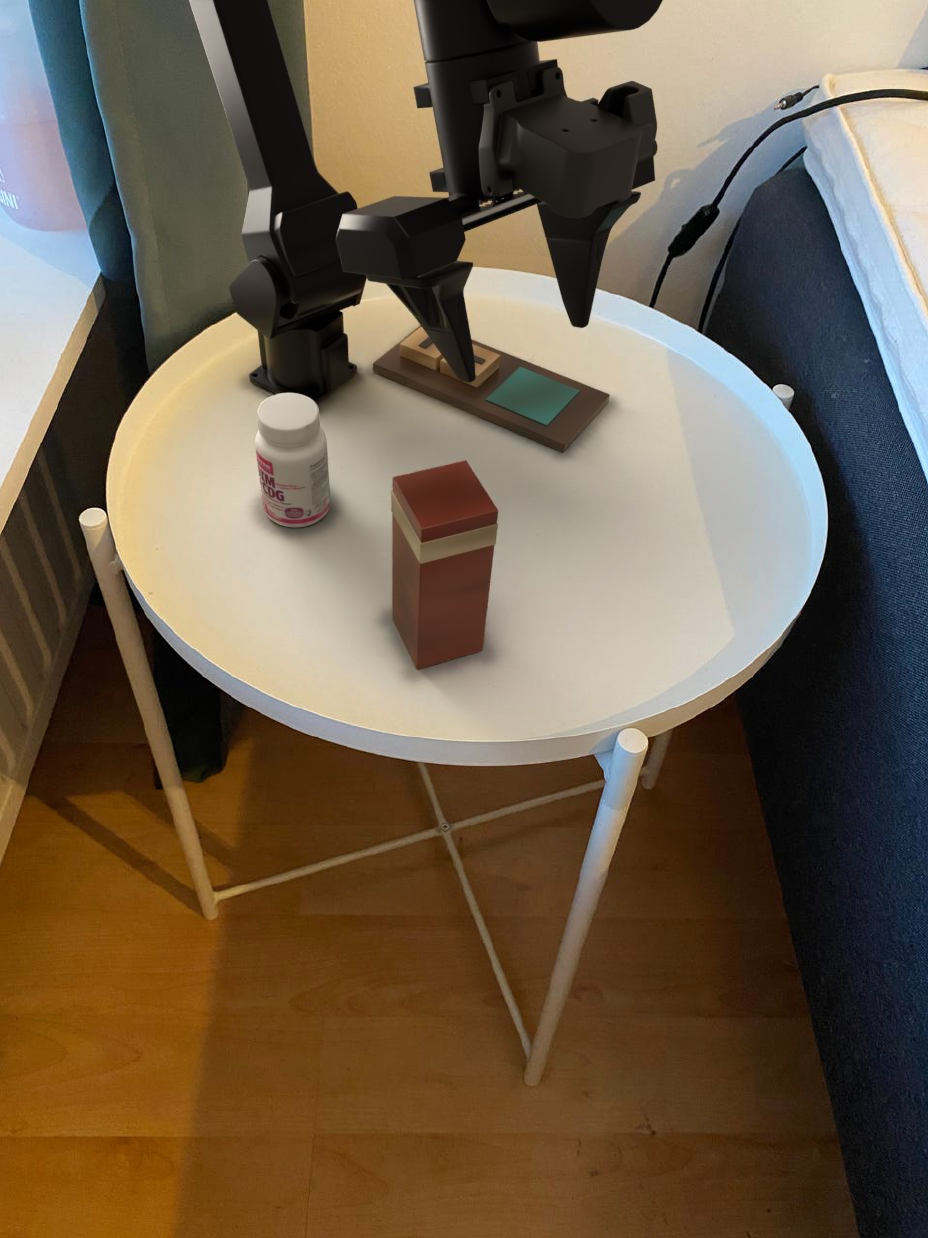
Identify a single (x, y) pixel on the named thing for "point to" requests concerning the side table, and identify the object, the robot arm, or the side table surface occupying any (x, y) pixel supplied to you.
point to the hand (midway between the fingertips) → (525, 352)
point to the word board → (498, 389)
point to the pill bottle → (292, 460)
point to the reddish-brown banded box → (441, 561)
